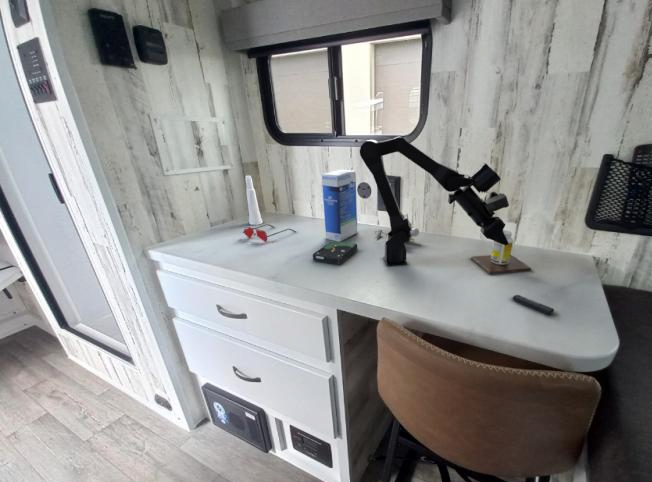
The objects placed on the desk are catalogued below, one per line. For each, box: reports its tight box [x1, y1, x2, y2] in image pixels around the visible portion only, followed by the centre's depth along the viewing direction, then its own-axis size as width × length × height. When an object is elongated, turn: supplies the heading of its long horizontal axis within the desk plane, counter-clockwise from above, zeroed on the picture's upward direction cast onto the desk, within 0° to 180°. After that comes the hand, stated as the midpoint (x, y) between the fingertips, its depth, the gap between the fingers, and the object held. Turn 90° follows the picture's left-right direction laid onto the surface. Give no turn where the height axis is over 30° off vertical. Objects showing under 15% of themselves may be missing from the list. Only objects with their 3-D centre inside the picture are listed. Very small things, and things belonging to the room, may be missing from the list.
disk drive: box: [312, 240, 358, 265], centre depth 108 cm, size 10×3×15 cm
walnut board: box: [470, 254, 532, 275], centre depth 100 cm, size 14×12×1 cm
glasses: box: [242, 223, 297, 243], centre depth 129 cm, size 14×16×5 cm
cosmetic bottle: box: [244, 174, 264, 226], centre depth 142 cm, size 6×6×22 cm
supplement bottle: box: [490, 229, 514, 265], centre depth 98 cm, size 6×6×10 cm
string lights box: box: [321, 169, 358, 242], centre depth 123 cm, size 13×8×26 cm, turn 150°
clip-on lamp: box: [374, 227, 420, 244], centre depth 121 cm, size 12×6×18 cm
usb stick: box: [512, 294, 555, 316], centre depth 76 cm, size 10×3×2 cm, turn 39°
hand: (502, 239), depth 96 cm, fingers open, 9 cm apart
